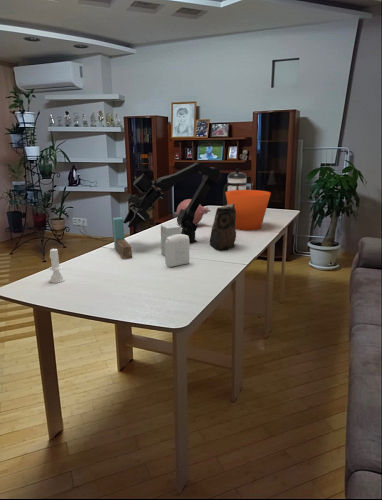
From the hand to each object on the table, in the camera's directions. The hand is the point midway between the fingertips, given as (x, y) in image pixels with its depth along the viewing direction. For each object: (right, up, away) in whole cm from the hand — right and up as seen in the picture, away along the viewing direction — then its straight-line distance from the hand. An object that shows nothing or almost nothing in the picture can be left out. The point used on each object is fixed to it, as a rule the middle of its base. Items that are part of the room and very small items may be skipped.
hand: (126, 225), depth 175 cm
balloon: (+31, +2, +48) cm, 57 cm away
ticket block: (0, -13, -7) cm, 15 cm away
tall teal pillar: (-3, -11, +2) cm, 11 cm away
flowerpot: (+61, +1, +44) cm, 75 cm away
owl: (+44, -10, +5) cm, 45 cm away
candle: (-18, -22, -37) cm, 47 cm away
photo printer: (+24, -17, -21) cm, 36 cm away
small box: (+21, -14, -8) cm, 26 cm away
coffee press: (+59, +13, +83) cm, 103 cm away
